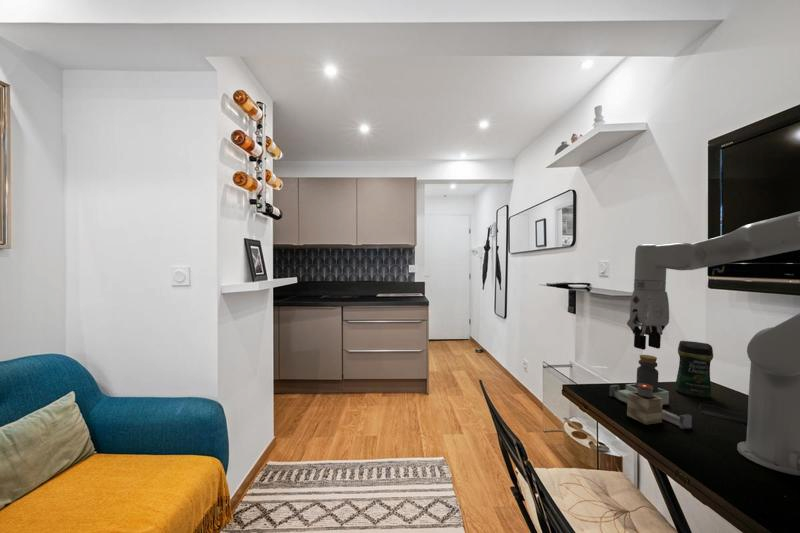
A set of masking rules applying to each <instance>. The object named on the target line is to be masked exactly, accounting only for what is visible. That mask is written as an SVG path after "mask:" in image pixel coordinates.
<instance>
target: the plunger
mask: <svg viewBox="0 0 800 533" xmlns="http://www.w3.org/2000/svg"><path fill="white" fill-rule="evenodd" d="M638 396H640V397H642V398H645V399H652V397H653V386H651V385H649V384H644V383H638Z"/></svg>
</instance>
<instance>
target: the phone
mask: <svg viewBox="0 0 800 533" xmlns="http://www.w3.org/2000/svg"><path fill="white" fill-rule="evenodd" d="M697 412H698V413H700V414H703V413H704V414H703V415H708V416H712V417H715V418H719V419H723V420H726V421H727V420H728V421H731V422H734V423H739V424H742V425H747V419H748V413H744V412H741V411H737V410H731V409H728V408H724V407H720V406H715V405H711V404H707V403H702V402H701V403H699V405H698V407H697Z"/></svg>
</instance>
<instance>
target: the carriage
mask: <svg viewBox="0 0 800 533" xmlns="http://www.w3.org/2000/svg"><path fill="white" fill-rule="evenodd" d="M637 391H638V389H637V388H636V383H629V384H628V383H627V384H625V389H619V391H618V393H619V394H618V398H617V399H618V400H619V401H621V402H624V403H625V404H627V401H628V398H627V397H628V392H637ZM620 394H621V395H620ZM653 395H655V396H657V397H660V398H662V399H663V405H669V401H670V400H669V399H670V391H668V390H666V389H663V388H660V387H658V392H656V393H653ZM625 396H626V397H625ZM663 405H662V406H663Z"/></svg>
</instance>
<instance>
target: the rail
mask: <svg viewBox="0 0 800 533" xmlns="http://www.w3.org/2000/svg"><path fill="white" fill-rule="evenodd" d="M619 390H620V385H618V384H612V385H609V394H608V396H610V397H613V398H616V399H618V394H619V393H618V391H619ZM620 395H621V394H620ZM625 397H626V396H625ZM627 398H628V397H627ZM662 420H664V421H667V422H669V423H670V424H673V425H675V426H677V427H679V429H682V430H686V429H692V424H693V423H692V422H693V415H692V414H689V413H685V414H680V415H677V414H675V413H672V412H669V411H668V410H665V409H663V408H662Z"/></svg>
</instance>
